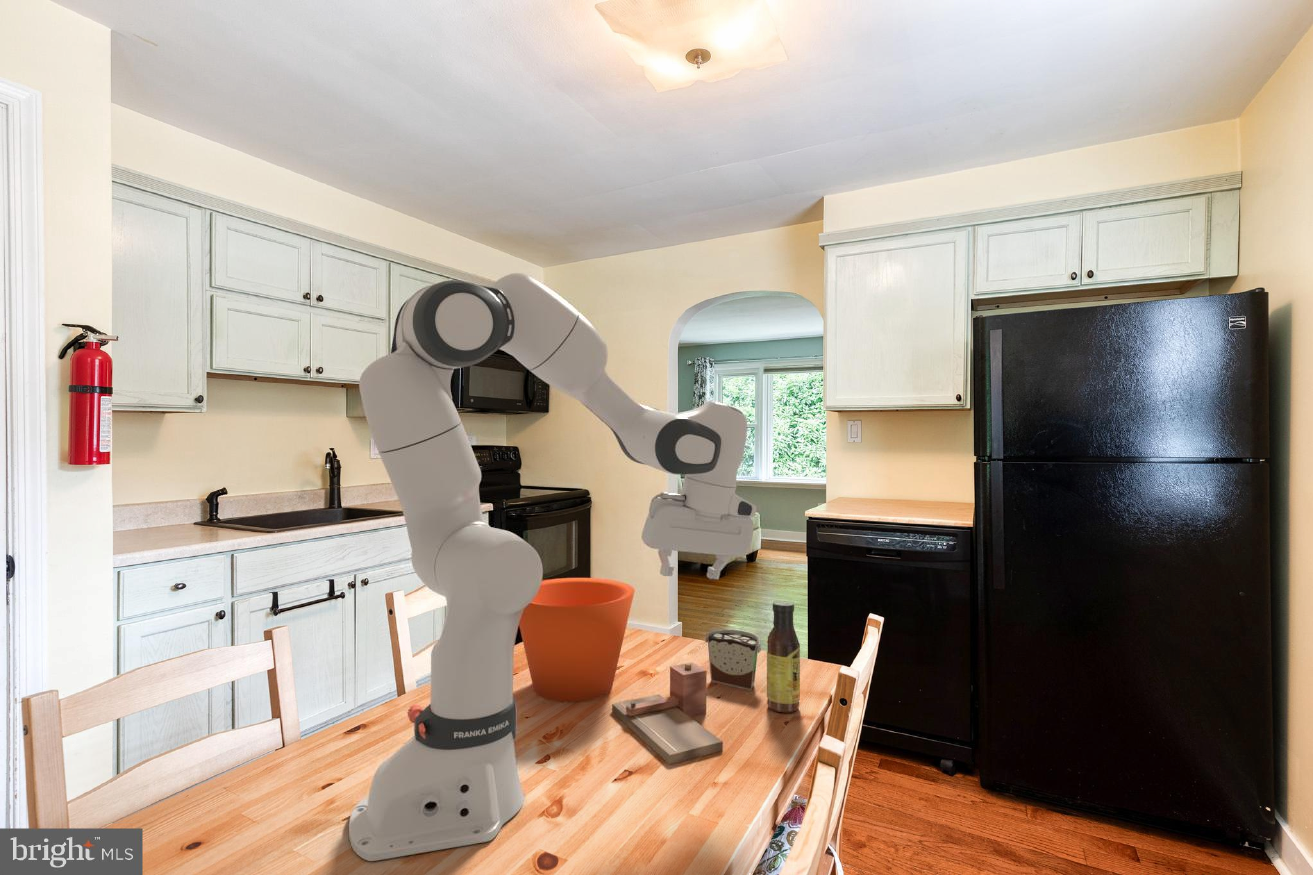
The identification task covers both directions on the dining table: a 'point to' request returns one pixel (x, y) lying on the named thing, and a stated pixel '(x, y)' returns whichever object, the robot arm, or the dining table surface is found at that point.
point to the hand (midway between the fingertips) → (689, 576)
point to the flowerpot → (575, 636)
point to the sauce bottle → (783, 661)
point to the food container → (733, 657)
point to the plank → (669, 732)
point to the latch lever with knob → (679, 692)
